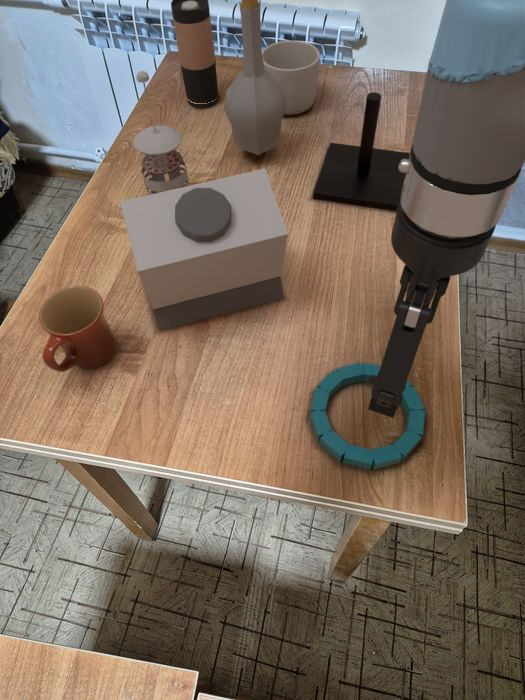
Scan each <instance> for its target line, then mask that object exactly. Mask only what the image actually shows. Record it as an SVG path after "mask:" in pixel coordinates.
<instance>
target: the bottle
mask: <svg viewBox="0 0 525 700" xmlns="http://www.w3.org/2000/svg"><path fill="white" fill-rule="evenodd" d="M261 2H262V1H261V0H241V1H238V4H239V11H240V21H241V36H242V53H243V54H242V70H241V71H240V72H239V74H238V75H237V76H236V77H235V79H234V80H233V81H232V82H231V84H230V85H229V87H227V89H226V91H225V99H224V107H223V110H224V112H225V115H226V117H227V119H228V122H229V123H230V126H231V132H232V137H233V143H234V144H235V145H237V146H238V147H239V149H241V150H243V151H245V152H248V153H251V154H255V155H256V156H257V157H259V156H261V155H262V154H264V153H265V152H267V151H268V152H269V150H272V149H273V148H275V147H276V146H277V143H278V142H280V140H281V131H282V121H283V118H284V116H285V115H284V112H285V109H286V105H287V104H286V100H285V96H284V91H283V87H282V86H281V85H280V84H279V83H278V82H277V81H276V80H275V79H274V78H273V77H272V76H271V75H270V74H269V73H268V72H267V71H266V70H265V69H264V64H263V57H262V51H263V50H262V28H261V25H262V24H261V4H262V3H261Z"/></svg>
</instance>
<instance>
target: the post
mask: <svg viewBox="0 0 525 700" xmlns="http://www.w3.org/2000/svg"><path fill="white" fill-rule="evenodd" d="M381 101H382V95H381V93H379V92H375V91H374V92H373V91H372V92H369V93H367V94H366V99H365V108H364V114H363V123H362V129H361V131H362V132H361V137H360V144H359V145H353V144H352V145H351V144H345V143H344V144H343V143H337V142H330V143H329V146H328V148H327V151H326V154H325V157H324V160H323V163H322V166H321V169H320V172H319V174H318V178H317V181H316V183H315V186H314V189H313V192H312V199H314V200H321V201H325V202H333V203H339V204H347V205H352V206H359V207H365V208H373V209H379V210H386V211H393V212H396V211H397V207H398V204H399V202H400V199H401V193H402V188H403V184H404V179H405V177H406V175H407V174H406V173H402V172H400V171H399V170H398V165H399V163H400V161H401V160H402V159H408V160H409V157H410V152H405V151H399V150H389V149H383V148H376V147H374V146H375V139H376V132H377V128H378V127H377V126H378V121H379V115H380V108H381Z"/></svg>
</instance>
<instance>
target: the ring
mask: <svg viewBox="0 0 525 700" xmlns="http://www.w3.org/2000/svg"><path fill="white" fill-rule="evenodd" d="M380 368H381V365H378V364H374V363H369V362H363V363H362V362H356V363H353V364H348V365H343V366H340V367H337V368H336V369H333V370H332V371H331V372H330V373H328V374H327V375H326V376H325V377H324V378H323V379H322V380H321V381H320V382H319V383H317V385H316V387H315V389H314V394H313V397H312V401H311V405H310V408H309V409H310V410H309V420H310V424H311V426H312V429H313V432H314V435H315V438H316V440H317V442H319V445H320V446H321V447H322V448H323V449H324V450H326V451H327V452H328V453H329V454H330V455H331V456H332V457H334V458H335V459H336V460H337V461H338V462H342V464H344V465H348V466H352V467H356V468H360V469H363V470H364V469H365V470H368V471H371V469H372V470H373V471H375V470H379V469H383V468H386V467H391V466H394V465H398V464H400V462H403V461H404V460H405V459H406V458H407V457H408V456H409V455H410V454H411V453H412V452H413V450H415V448H416V447H417V446H418V445H419V443H420V441H421V440H422V437H423V435H424V428H425V420H426V408H425V405H424V403H423V402H422V400H421V397H420V395H419V394H418V391H417V390H416V388H415V386H414V385H413V384H412V383H411V382H410V381H409V380H407V382H406V387H405V390H404V391H403V394H402V397H403V398H402V401H401V403H400V404H401V406H402V408H403V410H404V412H405V414H406V424H405V430H404V433H403V434H402V435H401V436H400V437H398V439H397V440H396V441H395V442H394V443H392V444H388V445H386V446H381V447H377V448H374V449H370V448H366V447H362V446H358V445H353V444H350V443H348V442H347V441H346V440H345V439H344V438H343V437H341V436H340V435H339V434H338V433H337V432H336V431H334V430H333V428H332V426H331V423H330V420H329V417H328V415H327V414H328V413H327V407H328V403H329V399H330V398H331V397H332V396H333V395H335V393H336V392H338V391H339V390H340V389H341V388H342V387H344V386H348V385H352V384H356V383H359V382H364V383H369V382H368V380H369V377H370V375H371V374H372V375H375V376H378V373H379V371H380ZM369 384H370V383H369ZM371 384H372V385H374V384H373V383H371ZM412 385H413V386H412Z"/></svg>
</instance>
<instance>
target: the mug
mask: <svg viewBox="0 0 525 700" xmlns="http://www.w3.org/2000/svg"><path fill="white" fill-rule="evenodd" d="M38 320H39V324H40V326H41V328H42V330H44V331H45V332H47V334H49V337H48V340H47V343H46V344H45V346H44V348H43V351H42V360H43V362H44V363H45V365H46V366H47V367H48V368H49V369H51V370H53V371H55V372H60V373H64V372H67V371H69V370H70V369H72V368H73V367H75V366H77V367H79V368H82V369H89V370H90V369H94V368H98V367H101V366H102V365H104V364H106V363H107V362H108V361H109V360H110V359H111V358H112V357H113V355H114V354H115V351H116V347H117V346H116V338H115V334H114V332H113V330H112V327H111V326H110V324H109V322H108V320H107V319H106V317H105V313H104V300H103V298H102V296H101V294H100V293H99V292H98V290H96V289H94V288H92V287H90V286H85V285H72V286H66V287H64V288H61V289H59V290H57V291H55V292H54V293H52V294H50V296H48V297H47V299H46V300H44V302H43V303H42V305H41V307H40V309H39V312H38ZM59 347H60V348H61V349H62V350H63V352H64V354H65V356H64V359H63V361H61V362H60V363H58V362H57V361H56V359H55V354H56V351H57V350H58V348H59Z"/></svg>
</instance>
